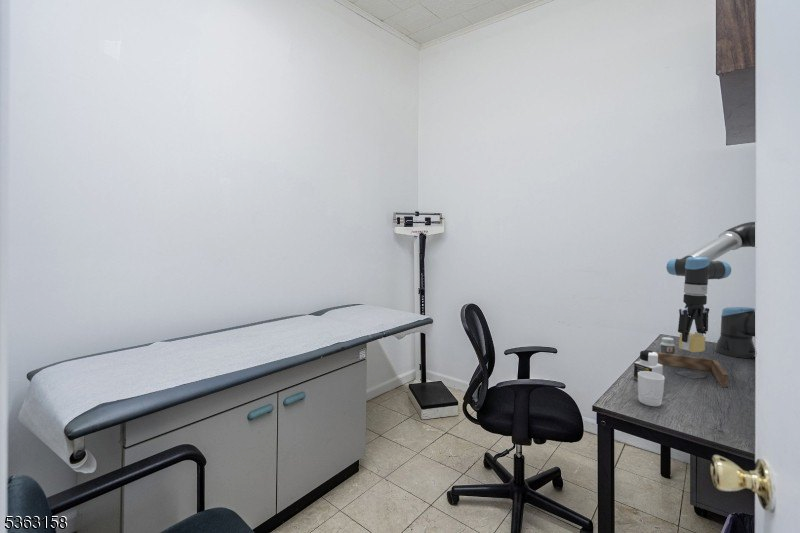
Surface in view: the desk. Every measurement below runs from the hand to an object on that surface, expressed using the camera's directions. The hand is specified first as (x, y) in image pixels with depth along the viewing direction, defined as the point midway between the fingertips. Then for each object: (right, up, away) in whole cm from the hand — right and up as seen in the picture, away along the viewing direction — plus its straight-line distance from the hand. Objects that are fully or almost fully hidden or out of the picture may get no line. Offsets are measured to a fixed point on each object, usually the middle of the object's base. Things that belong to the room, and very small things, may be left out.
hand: (691, 348), depth 153 cm
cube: (0, 0, 0) cm, 0 cm away
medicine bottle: (-21, -12, -4) cm, 25 cm away
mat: (0, -11, +1) cm, 11 cm away
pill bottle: (+5, -10, +21) cm, 24 cm away
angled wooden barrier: (0, -11, +2) cm, 11 cm away
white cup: (-34, -14, -23) cm, 43 cm away
